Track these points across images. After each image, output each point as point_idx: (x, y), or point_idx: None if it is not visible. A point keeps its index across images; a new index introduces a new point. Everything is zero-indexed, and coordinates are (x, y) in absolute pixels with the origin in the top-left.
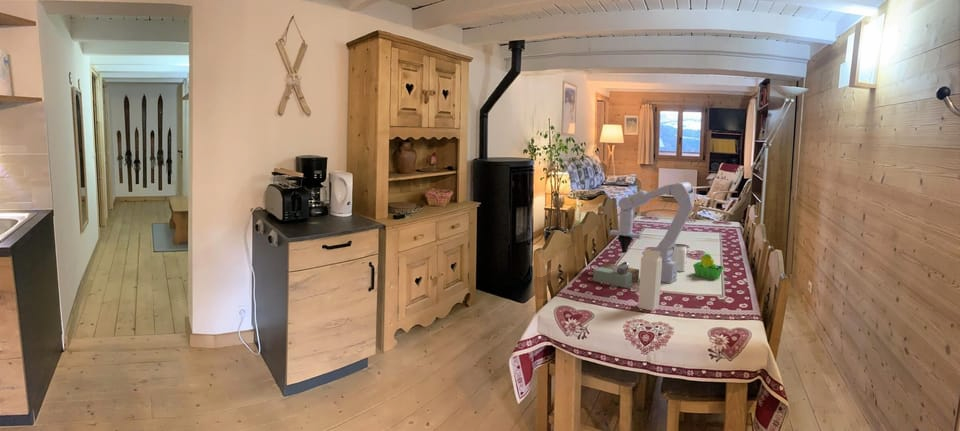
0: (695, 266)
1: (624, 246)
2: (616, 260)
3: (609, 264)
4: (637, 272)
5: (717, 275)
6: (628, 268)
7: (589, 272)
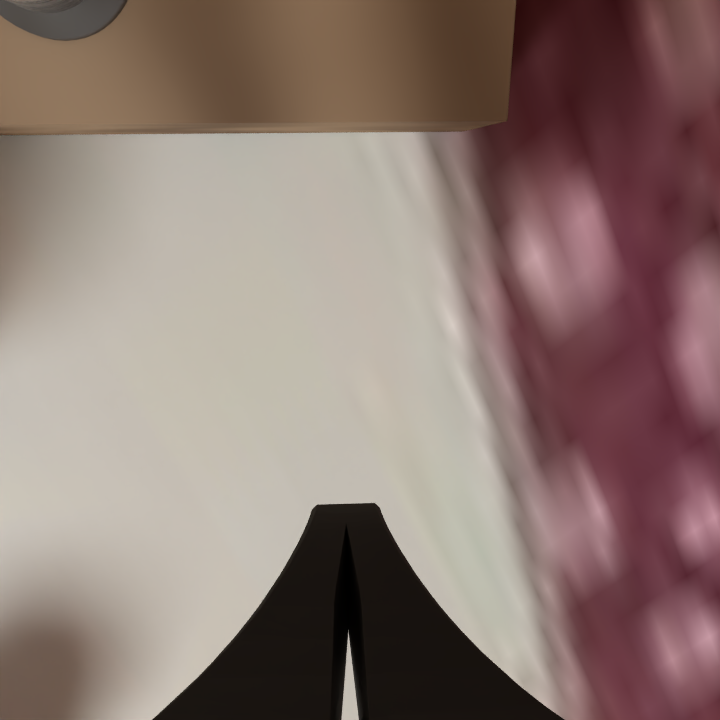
0: None
1: (311, 587)
2: (589, 707)
3: (451, 80)
4: None
5: None
6: (4, 6)
7: (706, 40)
